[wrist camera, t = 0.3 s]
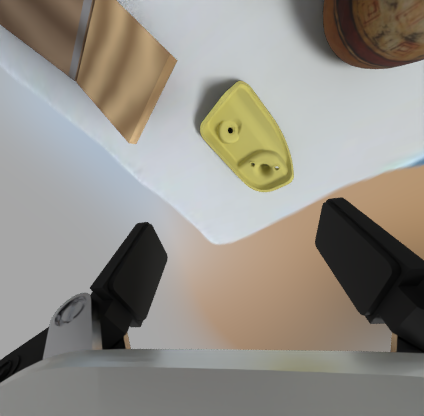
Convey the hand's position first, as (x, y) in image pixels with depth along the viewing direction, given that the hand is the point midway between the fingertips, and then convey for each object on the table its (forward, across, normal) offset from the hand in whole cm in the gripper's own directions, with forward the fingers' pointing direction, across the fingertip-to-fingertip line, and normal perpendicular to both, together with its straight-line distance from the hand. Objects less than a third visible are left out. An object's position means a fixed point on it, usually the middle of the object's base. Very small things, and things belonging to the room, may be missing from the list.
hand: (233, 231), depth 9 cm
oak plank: (+26, +15, -13) cm, 33 cm away
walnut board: (+30, +24, -24) cm, 46 cm away
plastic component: (+30, -4, +2) cm, 31 cm away
